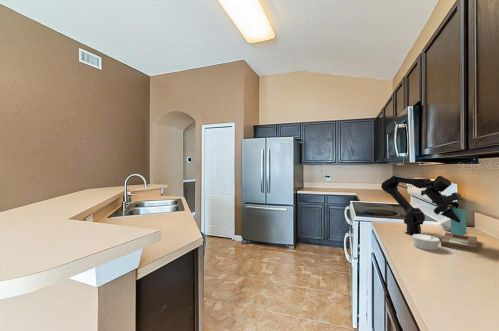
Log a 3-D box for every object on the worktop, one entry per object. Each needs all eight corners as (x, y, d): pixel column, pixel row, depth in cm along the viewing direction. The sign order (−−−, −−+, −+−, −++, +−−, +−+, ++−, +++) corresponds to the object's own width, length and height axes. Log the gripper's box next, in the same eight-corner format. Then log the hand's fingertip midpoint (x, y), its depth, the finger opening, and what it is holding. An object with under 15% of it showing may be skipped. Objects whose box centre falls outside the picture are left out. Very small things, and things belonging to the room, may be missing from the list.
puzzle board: (476, 252, 113) (476, 247, 113) (441, 246, 122) (441, 241, 122) (477, 241, 128) (477, 236, 128) (446, 236, 137) (445, 232, 137)
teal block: (461, 235, 118) (461, 210, 118) (450, 233, 122) (451, 208, 122) (466, 234, 120) (466, 209, 120) (455, 231, 124) (455, 208, 124)
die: (454, 234, 144) (463, 221, 144) (438, 225, 148) (447, 213, 149) (450, 235, 151) (458, 223, 151) (435, 227, 155) (443, 215, 156)
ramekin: (444, 252, 114) (444, 241, 114) (418, 250, 116) (418, 240, 116) (432, 244, 125) (432, 234, 125) (408, 243, 127) (408, 233, 127)
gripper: (441, 188, 120) (469, 214, 110) (456, 186, 129) (484, 210, 120) (423, 201, 127) (448, 227, 117) (439, 198, 136) (463, 222, 127)
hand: (462, 221), depth 120 cm, fingers closed on teal block, 5 cm apart
